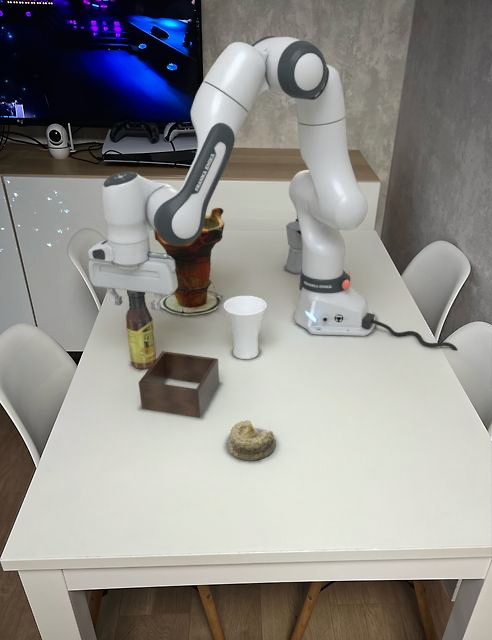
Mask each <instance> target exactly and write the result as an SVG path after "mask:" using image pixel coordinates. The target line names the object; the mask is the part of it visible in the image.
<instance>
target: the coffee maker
mask: <svg viewBox="0 0 492 640" xmlns="http://www.w3.org/2000/svg"><path fill="white" fill-rule="evenodd" d="M285 230H286V239H287V245H288V247H289V248H288V253H287V259H286V264H285V271H287V272H288V273H291V274H298V275H300V271H301V269H302V236H301V231H300V226H299V221H298V217H297V216H296V218H295V220H294V221H290V222H288V223H287V224H285Z"/></svg>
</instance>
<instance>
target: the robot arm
mask: <svg viewBox="0 0 492 640" xmlns="http://www.w3.org/2000/svg"><path fill="white" fill-rule="evenodd" d="M265 91H268V92H270V93H271V94H274V95H277V96H285V97H290V98H293V99H294V102H295V105H296V117H297V120H296V121H297V130H298V131H297V132H298V140H299V141H298V142H299V143H298V144H299V152H300V156H301V159H302V161H303V162H304V164H305V165H306V167H307V169H304V170H300V171H298V172H297V173H296V174H295V175H294V176H293V177H292V179H291V180H290V183H289V186H288V195H289V198H290V200H291V203H292V205H293V206H294V209H295V212H296V218H297V217H298V221H299V226H300V231H301V236H302V269H301V271H300V274H299V279H298V280H299V281H298V287H299V298H298V303H297V306H296V310H295V312H294V316H293V320H294V322H295V323H296V324H298V325H299V326H300V327H302V328H304V329H306V330H307V331H308V333H310V334H311V335H320V336H321V335H323V336H326V335H328V336H355V337H356V336H359V337H360V336H362V337H364V336H367V335H369V334H371V333H372V332H373V331H374V328H375V326H376V325H377V326H379V327H382V328H384V329H385V330H387V331H388V332H389V333H390V334H391V335H393V336H395V337H405V336H408V335H410V336H414V337H416V338H417V340H418V341H419V343H420V344H421V345H423V346H425V347H430V348H436V347H437V348H438V347H449V348H451V349H452V350H453V351H456V352H457V351H458V350H459V349H458V348H457V346H455V345H454V344H453V343H451V342H447V341H441V342H440V341H439V342H428V341H425V340H424V338H423V337H422V336H421V334H420V333H419V332H417V331H414V330H406V331H402V332H397V331H395V330H394V329H393V328H392V327H391V326H389V325H388V324H386V323H383V322H382V321H378V320H376V316H375V314H376V313H375V314H374V312H373V311H371V310H370V309H369V306H368V301H367V298H366V297H365V296H364V295H363V294H362V293H360V292H359V291H358V290H357V289H355V288H354V287H353V286H352V285H351V272H350V271H348V273H347V272H346V271H345V270H344V266H345V255H346V244H345V240H344V238H343V236H342V234H341V231H345V232H347V231H352V230H355V229H357V228H358V227H359V226H361V225H362V223H363V222H364V221H365V219H366V216H367V214H368V209H369V204H368V203H369V202H368V199H367V197H366V196H365V194H364V193H363V191H362V190H361V188H360V186H359V184H358V182H357V178H356V176H355V173H354V169H353V166H352V163H351V159H350V154H349V149H348V138H347V121H346V120H347V119H346V118H347V117H346V105H345V95H344V91H343V85H342V80H341V76H340V74H339V72H338V70H337V69H336V68H335V67H334V66H332V65H330V64H328V63H327V62H326V58H325V57H324V55H323V53H322V52H321V50H320V49H319V47H318V46H316V45H315V44H313V43H312V42H309V41H307V40H303V39H302V40H301V39H299V38H295V37H291V36H273V35H268V36H264V37H262V38H259V39H257V40H256V41H255V42H253V43H252V44H249V43H247V42H246V43H245V42H242V41H235V42H232V43H230V44H229V45H227V47H225V49H224V50H223V51H222V52H221V54H220V55H219V56H218V57H217V59H216V60H215V62H214V63H213V64H212V66H211V68H210V69H209V71H207V74H206V76H205V78H204V79H203V81H202V83H201V84H200V87H199V88H198V90H197V91H196V93H195V97H194V100H193V102H192V105H191V108H190V120H191V124H192V126H193V129H194V131H195V134H196V139H197V148H196V153H195V157H194V159H193V161H192V163H191V165H190V167H189V170H188V172H187V174H186V176H185V178H184V180H183V183H182V184H181V186H180V188H179V189H177V188H176V187H175V186H173V185H171V184H169V183H166V182H159V181H154V180H150V179H148V178H145V177H143V176H141V175H140V174H138V173H137V172H135V171H121V172H117V173H114V174H112V175H110V176H109V177H107V178H106V179H105V181H104V182H103V184H102V189H101V190H102V193H101V196H102V197H101V199H102V210H103V218H104V222H105V223H106V226H107V234H106V238H105V239H101V240H100V241H99V242H97V243H96V244H94V245H93V246H92V247H90V248H89V250H88V251H87V253H88V257H89V259H90V260H89V261H88V277H89V281H90V283H91V284H92V285H93V287H97V288H103V289H104V288H106V292H107V294H108V295H109V296H110V298H111V299H112V302H113V305H114V306H121V305H122V304H123V296H122V295H119V293H118V292H117V290H121V291H127V290H130V291H138V292H145V293H147V294H153V296H154V298H156V299H153V300H152V301H151V303H150V308H151V310H153V311H159V310H160V308H161V306H160V305H161V304H160V301H161V300H162V299H163V297H164V296H168V295H171V294H173V293H174V292H175V290H176V289H177V287H178V282H177V276H176V272H175V269H176V267H175V260H174V259H173V258H172V257H171V256H169V255H168V254H166V252H162V253H160V252H156V251H151V245H150V243H151V242H150V235H149V234H150V232H151V231H154V230H156V231H157V233H158V234H159V235H160V237H161V238H162V239H163V240H164V241H165V242H166V243H168V244H170V245H173V246H184V245H187V244H190V243H191V242H193V241H194V240H195V239H197V238H198V236H199V235H200V234H201V232H202V230H203V227H204V222H205V216H206V214H207V211H208V206H209V203H210V201H211V199H212V197H213V195H214V192H215V190H216V189H217V186H218V184H219V182H220V180H221V177H222V176H223V173H224V171H225V169H226V167H227V165H228V163H229V159H230V158H231V155H232V153H233V149H234V146H235V142H236V140H237V136H238V134H239V132H240V130H241V127H242V126H243V123H244V122H245V120H246V119H247V117H248V115H249V112H250V111H251V109H252V108H253V105H254V103H255V102H256V100H257V99H258V97H259V96H260V95H261V94H262V93H263V92H265Z"/></svg>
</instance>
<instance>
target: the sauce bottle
mask: <svg viewBox="0 0 492 640" xmlns="http://www.w3.org/2000/svg"><path fill="white" fill-rule="evenodd" d="M126 294H127V297H128V306H129V307H128V310H127V311H126V314H125V323H126V334H127V343H128V349H129V350H128V352H129V358H130V361H131V362H130V363H131V365H132V366H133V368H135V369H139V370H146V369H149V368H150V367H151V365H152V364H153V363H154V362H155V360H156V359H157V352H156V351H157V350H156V341H155V331H154V320H153V317H152V315H151V313H150V311H149V309H148V307H147V302H146V297H145V296H146V292H138V291H130V290H126Z"/></svg>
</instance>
